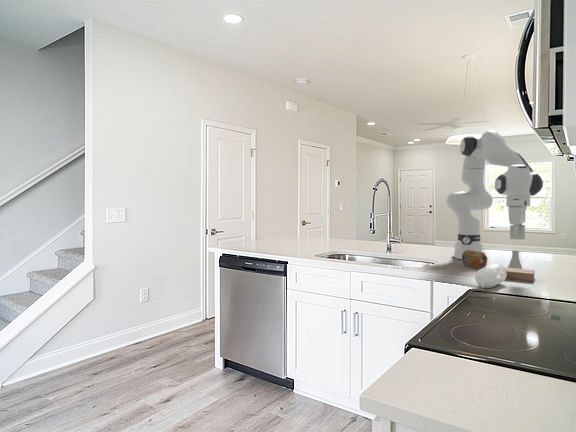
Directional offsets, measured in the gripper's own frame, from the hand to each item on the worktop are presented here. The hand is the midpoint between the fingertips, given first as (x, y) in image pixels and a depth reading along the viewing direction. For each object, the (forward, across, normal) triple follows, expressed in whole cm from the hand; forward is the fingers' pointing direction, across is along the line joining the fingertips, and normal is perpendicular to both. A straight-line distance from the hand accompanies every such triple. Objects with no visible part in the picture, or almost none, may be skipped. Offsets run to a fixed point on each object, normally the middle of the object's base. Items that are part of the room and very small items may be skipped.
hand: (517, 234), depth 163 cm
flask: (+20, -18, -3) cm, 27 cm away
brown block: (+20, 0, 0) cm, 20 cm away
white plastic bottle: (+20, +24, -6) cm, 31 cm away
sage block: (+2, 0, 0) cm, 2 cm away
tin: (+20, -19, -21) cm, 34 cm away
